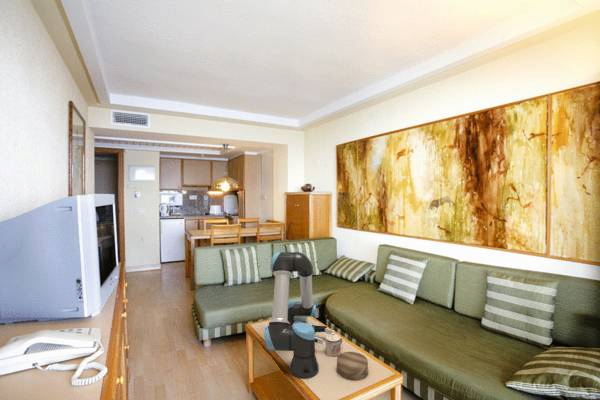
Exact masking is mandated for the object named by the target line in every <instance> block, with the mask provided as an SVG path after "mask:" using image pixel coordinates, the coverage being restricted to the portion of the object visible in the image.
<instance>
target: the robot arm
mask: <svg viewBox="0 0 600 400" xmlns="http://www.w3.org/2000/svg"><path fill="white" fill-rule="evenodd" d="M313 267H314V266H313V263H312V261H311V260H310V258H309V257H308V256H307V255H306V254H304V253H302V252H300V251H292V252H291V251H277V252H275V253H273V255H272V257H271V261H270V270H271V272H272V275H274V289H273V303H272V314H271V320H270V321H268V325H267V326H265V328H264V343H265V347H266V348H267V350H269V351H278V352H279V351H282V352H283V351H284V352H285V351H286V352H287V351H289V352H292V358H291V362H290V365H289V367H290V368H289V369H290V374H292V375H293V376H294V377H295V378H299V379H309V378H310V379H311V378H312V377H313V378H314V377H315V376H317V374H318V373H319V372H320V371H319V370H320V369H319V368H320V367H319V362H318V359H317V356H316V343H317V344H319V345H324V339H322V338H320V337H316V333H325V334H326V335H328V334H331V333H332V332H334V333H335V330H333V329H330V328H328V326H327V325H316V324H312V325H311V324H309V323H306V322H303V323H302V322H299V321H296V320H294V316H308V317H316V315H317V305H316V304H314V302H313V301H314V297H313V296H314V295H313V276H312V275H313V274H314V268H313ZM294 272H297V275H298V276H299V285H300V286H299V287H300V300H301V301H300V302H301V304H294V303H295V301H294V300H292V299H290V298H289V297H290V279H291V277H292V276H293V273H294ZM335 334H336V333H335Z"/></svg>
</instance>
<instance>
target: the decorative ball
mask: <svg viewBox="0 0 600 400" xmlns="http://www.w3.org/2000/svg"><path fill="white" fill-rule="evenodd" d="M294 304H301V301H296V302H295V301H294ZM308 317H309V316H294V320H296V321H299V322H302V323H305V322H306V320H307V319H308Z"/></svg>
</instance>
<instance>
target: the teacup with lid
mask: <svg viewBox="0 0 600 400" xmlns="http://www.w3.org/2000/svg"><path fill="white" fill-rule="evenodd" d="M324 339H325V353H326V355H328V356H330V357H338V355H340V354H341V353H342V352H341V347H342V346H341V345H342V344H343V338H342V337H341V336H340V335H339V334H337V333H334V332H332V333H331V334H326V335H325V337H324Z"/></svg>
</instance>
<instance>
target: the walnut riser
mask: <svg viewBox="0 0 600 400" xmlns="http://www.w3.org/2000/svg"><path fill="white" fill-rule="evenodd" d="M336 357H337V358H336V372H337V373H338V375H339V376H340V377H341V378H343V379H345V380H349V381H360V380H364V379H365V378H367V376H368V374H369V361H368V358H367V357H366V356H365V355H364V354H362V353H358V352H357V351H356V352H355V351H345V352H341V353H340V355H338V356H336Z"/></svg>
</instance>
